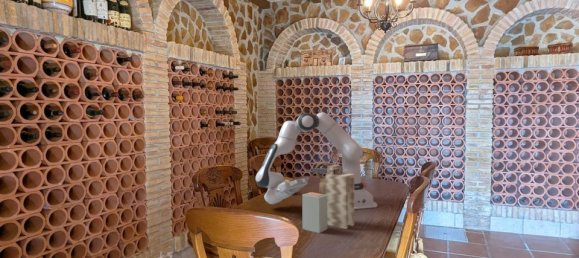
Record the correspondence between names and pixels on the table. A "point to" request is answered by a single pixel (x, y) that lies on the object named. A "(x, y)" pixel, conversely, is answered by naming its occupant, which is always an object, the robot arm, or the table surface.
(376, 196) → the table surface
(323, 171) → the strip
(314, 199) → the grey-green upright block
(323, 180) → the ceramic vessel
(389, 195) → the table surface
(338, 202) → the beige patterned tall block
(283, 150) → the robot arm
